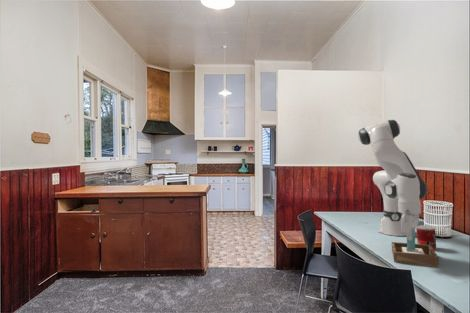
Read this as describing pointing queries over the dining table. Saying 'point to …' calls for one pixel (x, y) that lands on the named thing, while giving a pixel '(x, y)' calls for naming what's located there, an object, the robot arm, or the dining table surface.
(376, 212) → the dining table surface
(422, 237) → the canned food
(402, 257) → the box
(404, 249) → the plate
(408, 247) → the peg
